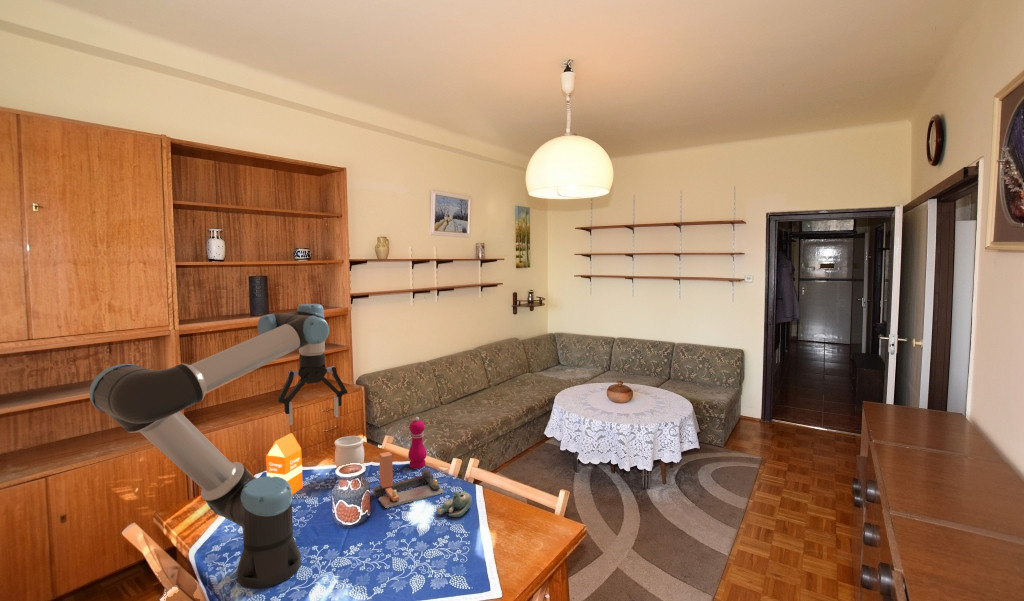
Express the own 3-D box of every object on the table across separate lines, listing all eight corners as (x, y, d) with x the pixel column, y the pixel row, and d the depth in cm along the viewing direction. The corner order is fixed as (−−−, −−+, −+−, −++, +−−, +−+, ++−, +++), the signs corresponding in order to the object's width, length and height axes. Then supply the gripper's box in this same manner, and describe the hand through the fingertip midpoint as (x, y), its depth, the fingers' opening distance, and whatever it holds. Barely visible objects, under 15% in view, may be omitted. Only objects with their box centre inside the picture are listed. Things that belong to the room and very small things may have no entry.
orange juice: (267, 496, 169) (265, 440, 167) (284, 485, 178) (282, 431, 176) (286, 498, 167) (284, 442, 166) (303, 487, 176) (301, 433, 174)
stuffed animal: (429, 492, 161) (463, 479, 166) (434, 512, 162) (466, 498, 167) (440, 507, 151) (475, 492, 156) (444, 528, 152) (479, 512, 157)
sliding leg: (401, 499, 164) (400, 463, 163) (390, 501, 162) (390, 465, 161) (389, 485, 174) (389, 451, 173) (380, 488, 172) (379, 453, 171)
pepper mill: (430, 465, 195) (429, 416, 193) (415, 471, 190) (414, 421, 188) (419, 460, 200) (418, 413, 198) (404, 465, 195) (404, 417, 193)
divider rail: (443, 490, 173) (443, 478, 173) (382, 507, 161) (382, 494, 161) (431, 479, 182) (431, 468, 182) (372, 494, 170) (372, 482, 170)
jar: (370, 477, 184) (369, 438, 183) (348, 488, 175) (347, 447, 174) (352, 470, 190) (351, 433, 189) (329, 480, 181) (328, 441, 180)
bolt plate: (443, 493, 172) (443, 490, 172) (385, 509, 160) (385, 506, 160) (435, 485, 178) (435, 482, 177) (378, 500, 166) (378, 497, 166)
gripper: (349, 347, 161) (351, 410, 163) (266, 355, 148) (268, 423, 149) (355, 351, 155) (357, 416, 157) (269, 359, 142) (271, 430, 143)
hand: (314, 420), depth 153 cm, fingers open, 13 cm apart
